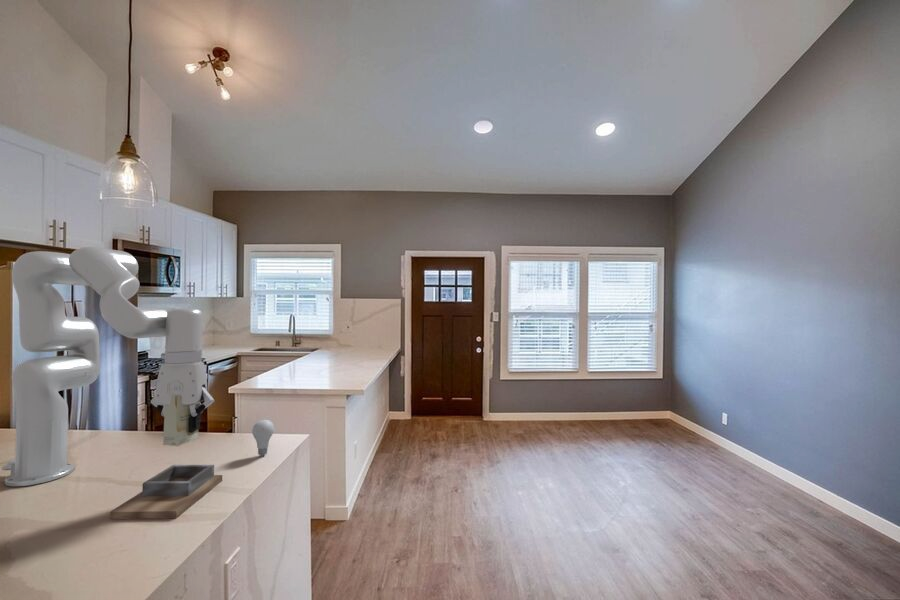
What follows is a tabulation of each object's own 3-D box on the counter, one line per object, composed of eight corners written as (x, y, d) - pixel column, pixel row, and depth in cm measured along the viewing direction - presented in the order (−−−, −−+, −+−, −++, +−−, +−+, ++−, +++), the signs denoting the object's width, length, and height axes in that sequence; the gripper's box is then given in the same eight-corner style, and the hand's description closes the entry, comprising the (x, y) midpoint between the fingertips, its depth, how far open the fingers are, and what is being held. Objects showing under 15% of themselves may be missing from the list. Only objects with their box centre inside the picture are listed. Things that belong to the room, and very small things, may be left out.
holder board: (109, 518, 82) (110, 497, 83) (167, 480, 100) (168, 463, 101) (176, 518, 83) (176, 497, 83) (222, 480, 101) (222, 463, 101)
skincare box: (177, 447, 91) (178, 395, 92) (162, 445, 92) (163, 394, 92) (199, 438, 98) (201, 390, 98) (185, 436, 99) (186, 389, 99)
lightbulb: (258, 461, 114) (259, 424, 114) (247, 456, 117) (248, 420, 117) (277, 454, 119) (278, 419, 119) (266, 450, 122) (266, 416, 123)
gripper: (136, 359, 91) (134, 436, 91) (209, 360, 92) (208, 436, 92) (159, 355, 99) (157, 426, 98) (226, 356, 100) (225, 426, 99)
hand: (182, 430), depth 95 cm, fingers closed on skincare box, 5 cm apart
